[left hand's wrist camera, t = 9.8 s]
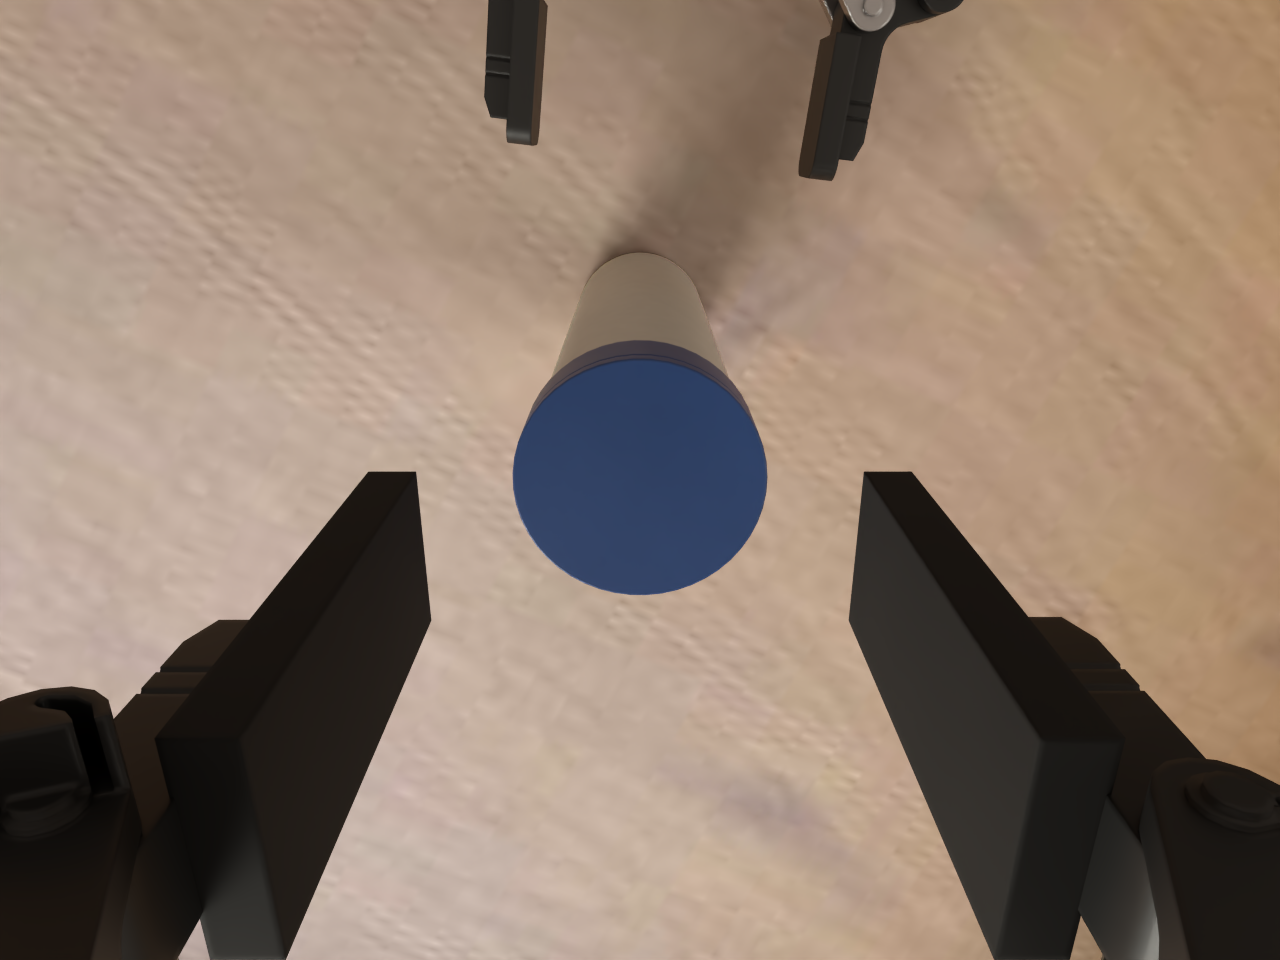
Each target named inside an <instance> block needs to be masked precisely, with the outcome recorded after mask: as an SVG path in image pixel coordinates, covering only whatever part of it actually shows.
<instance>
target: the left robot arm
mask: <svg viewBox="0 0 1280 960" xmlns="http://www.w3.org/2000/svg"><path fill="white" fill-rule="evenodd" d="M430 622H431V613H430V604H429V594H428V584H427V574H426V564H425V555H424V545H423V535H422V525H421V516H420V506H419V496H418V486H417V477H416V472H368V473H367V474H366V475H365V477H364V478H363V479H362V480H361V482H360V483H359V484H358V485H357V487H356V488H355V489H354V490H353V492H352V493H351V494H350V495H349V497H348V498H347V499H346V500H345V501H344V503H343V504H342V505H341V506H340V508H339V509H338V510H337V511H336V513H335V514H334V515H333V516H332V518H331V519H330V520H329V521H328V523H327V524H326V525H325V526H324V528H323V529H322V530H321V531H320V533H319V534H318V535H317V536H316V538H315V539H314V540H313V541H312V543H311V544H310V545H309V546H308V548H307V549H306V550H305V551H304V553H303V554H302V555H301V556H300V557H299V559H298V560H297V561H296V562H295V564H294V565H293V566H292V567H291V569H290V570H289V571H288V572H287V574H286V575H285V576H284V577H283V579H282V580H281V581H280V582H279V584H278V585H277V586H276V587H275V589H274V590H273V591H272V592H271V594H270V595H269V596H268V597H267V599H266V600H265V601H264V602H263V604H262V605H261V606H260V607H259V609H258V610H257V611H256V612H255V613H254V615H253V616H252V617H251V618H250V620H218V621H216V622H215V623H213V624H212V625H210V626H208V627H207V628H205V629H203V630H202V631H200V632H198V633H197V634H195V635H194V636H192V637H190V638H189V639H187V640H185V641H184V642H183V643H182V644H181V645H180V646H179V647H178V648H177V649H176V650H175V652H174V653H173V654H172V655H171V656H170V657H169V658H168V659H167V660H166V662H165V663H164V664H163V665H162V666H161V667H160V668H161V670H160V672H156V673H155V674H154V675H153V676H152V677H151V678H150V679H149V680H148V682H147V683H146V684H145V685H144V686H143V687H142V688H141V694H136V695H135V696H134V697H133V698H132V699H131V700H130V702H129V703H128V704H127V705H126V706H125V707H124V708H123V709H122V711H121V712H120V713H119V714H118V715H117V716H116V717H115V718H114V719H113V715H112V712H111V708H110V704H109V701H108V699H106V698H105V697H104V696H102V695H101V694H99V693H98V692H97V691H95V690H91V689H84V688H78V687H72V686H71V687H60V688H49V689H40V690H37V691H33V692H29V693H25V694H21V695H18V696H14V697H10V698H7V699H5V700H2V701H0V960H179V958H178V956H179V955H180V953H181V951H182V949H183V948H184V946H185V944H186V942H187V940H188V939H189V937H190V935H191V933H192V932H193V930H194V928H195V926H196V924H197V923H198V921H199V919H200V921H201V925H202V929H203V933H204V937H205V941H206V945H207V949H208V953H209V957H210V960H286V958H287V956H288V953H289V951H290V949H291V946H292V944H293V942H294V939H295V937H296V935H297V932H298V930H299V928H300V925H301V923H302V921H303V918H304V916H305V914H306V911H307V909H308V907H309V904H310V902H311V900H312V897H313V895H314V893H315V890H316V888H317V886H318V883H319V881H320V879H321V876H322V874H323V872H324V869H325V867H326V865H327V862H328V860H329V858H330V855H331V853H332V851H333V848H334V846H335V844H336V841H337V839H338V837H339V834H340V832H341V830H342V827H343V825H344V823H345V820H346V818H347V816H348V813H349V811H350V809H351V806H352V804H353V802H354V799H355V797H356V795H357V792H358V790H359V788H360V785H361V783H362V781H363V778H364V776H365V774H366V771H367V769H368V767H369V764H370V762H371V760H372V757H373V755H374V753H375V750H376V748H377V746H378V743H379V741H380V739H381V736H382V734H383V732H384V729H385V727H386V725H387V722H388V720H389V718H390V715H391V713H392V711H393V708H394V706H395V704H396V701H397V699H398V697H399V694H400V692H401V690H402V687H403V685H404V683H405V680H406V678H407V676H408V673H409V671H410V669H411V666H412V664H413V662H414V660H415V657H416V655H417V653H418V650H419V648H420V646H421V643H422V641H423V639H424V636H425V634H426V632H427V629H428V627H429V625H430ZM849 622H850V625H851V627H852V629H853V632H854V634H855V636H856V639H857V641H858V643H859V646H860V648H861V650H862V653H863V655H864V657H865V660H866V662H867V664H868V667H869V669H870V671H871V673H872V676H873V678H874V680H875V683H876V685H877V687H878V690H879V692H880V694H881V697H882V699H883V701H884V704H885V706H886V708H887V711H888V713H889V715H890V718H891V720H892V722H893V725H894V727H895V729H896V732H897V734H898V736H899V739H900V741H901V743H902V746H903V748H904V750H905V753H906V755H907V757H908V760H909V762H910V764H911V767H912V769H913V771H914V774H915V776H916V778H917V781H918V783H919V785H920V788H921V790H922V792H923V795H924V797H925V799H926V802H927V804H928V806H929V809H930V811H931V813H932V816H933V818H934V820H935V823H936V825H937V827H938V830H939V832H940V834H941V837H942V839H943V841H944V844H945V846H946V848H947V851H948V853H949V855H950V858H951V860H952V862H953V865H954V867H955V869H956V872H957V874H958V876H959V879H960V881H961V883H962V886H963V888H964V890H965V893H966V895H967V897H968V900H969V902H970V904H971V907H972V909H973V911H974V914H975V916H976V918H977V921H978V923H979V925H980V928H981V930H982V932H983V935H984V937H985V939H986V942H987V944H988V946H989V949H990V951H991V953H992V956H993V958H994V960H1070V957H1071V953H1072V949H1073V945H1074V941H1075V937H1076V933H1077V929H1078V925H1079V921H1080V917H1081V916H1082V918H1083V920H1084V922H1085V923H1086V925H1087V927H1088V929H1089V931H1090V932H1091V934H1092V936H1093V938H1094V939H1095V941H1096V943H1097V945H1098V946H1099V948H1100V950H1101V952H1102V954H1103V955H1102V958H1101V960H1280V785H1278V784H1276V783H1274V782H1272V781H1270V780H1268V779H1266V778H1264V777H1262V776H1260V775H1258V774H1256V773H1254V772H1252V771H1250V770H1248V769H1245V768H1241V767H1238V766H1235V765H1231V764H1228V763H1225V762H1221V761H1218V760H1211V759H1206V758H1205V757H1204V756H1203V755H1202V754H1201V753H1200V752H1199V751H1198V749H1197V748H1196V747H1195V746H1194V745H1193V744H1192V743H1191V742H1190V741H1189V740H1188V738H1187V737H1186V736H1185V735H1184V734H1183V733H1182V732H1181V731H1180V730H1179V728H1178V727H1177V726H1176V725H1175V724H1174V723H1173V722H1172V721H1171V720H1170V719H1169V717H1168V716H1167V715H1166V714H1165V713H1164V712H1163V711H1162V710H1161V709H1160V708H1159V706H1158V705H1157V704H1156V703H1155V702H1154V701H1153V700H1152V699H1151V698H1150V696H1149V695H1148V694H1147V693H1146V692H1145V691H1140V689H1139V684H1138V683H1137V682H1136V681H1135V680H1134V679H1133V678H1132V677H1131V675H1130V674H1129V673H1128V672H1127V671H1126V670H1125V669H1121V668H1120V663H1119V662H1118V661H1117V660H1116V659H1115V658H1114V657H1113V656H1112V655H1111V653H1110V652H1109V651H1108V650H1107V649H1106V648H1105V647H1104V646H1103V645H1102V643H1101V642H1100V641H1099V640H1098V639H1097V638H1095V637H1093V636H1092V635H1090V634H1089V633H1087V632H1085V631H1084V630H1082V629H1080V628H1079V627H1077V626H1075V625H1074V624H1072V623H1070V622H1069V621H1067V620H1065V619H1064V618H1062V617H1028V616H1027V615H1026V613H1025V612H1024V611H1023V610H1022V609H1021V607H1020V606H1019V605H1018V604H1017V602H1016V601H1015V600H1014V599H1013V597H1012V596H1011V595H1010V594H1009V592H1008V591H1007V590H1006V589H1005V587H1004V586H1003V585H1002V584H1001V582H1000V581H999V580H998V579H997V577H996V576H995V575H994V574H993V572H992V571H991V570H990V569H989V567H988V566H987V565H986V564H985V562H984V561H983V560H982V559H981V557H980V556H979V555H978V554H977V553H976V551H975V550H974V549H973V548H972V546H971V545H970V544H969V543H968V541H967V540H966V539H965V538H964V536H963V535H962V534H961V533H960V531H959V530H958V529H957V528H956V526H955V525H954V524H953V523H952V521H951V520H950V519H949V518H948V516H947V515H946V514H945V513H944V511H943V510H942V509H941V508H940V506H939V505H938V504H937V503H936V501H935V500H934V499H933V498H932V497H931V495H930V494H929V493H928V492H927V490H926V489H925V488H924V487H923V485H922V484H921V483H920V482H919V480H918V479H917V478H916V477H915V475H914V474H913V473H912V472H864V477H863V486H862V496H861V506H860V516H859V525H858V535H857V545H856V555H855V564H854V574H853V584H852V594H851V603H850V613H849Z"/></svg>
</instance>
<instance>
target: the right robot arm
mask: <svg viewBox="0 0 1280 960" xmlns="http://www.w3.org/2000/svg"><path fill="white" fill-rule="evenodd" d="M819 1H820V3H821V6H822V8H823V10H824V12H825V14H826V17H827V19H828V21H829V23H830V25H831V32H830V35H829V36H827V37H825V38H823V39H821V40H820V44H819V50H818V55H817V61H816V67H815V73H814V79H813V84H812V90H811V96H810V102H809V108H808V113H807V119H806V125H805V131H804V137H803V142H802V148H801V154H800V160H799V176H801V177H805V178H811V179H819V180H827V181H832V180H833V178H834V176H835V173H836V170H837V166H838V161H839V159H841V160H849V161H853V160H854V158H855V157H856V155H857V153H858V152H859V150H860V148H861V147H862V145H863V143H864V139H865V134H866V129H867V124H868V119H869V113H870V108H871V103H872V98H873V93H874V88H875V83H876V78H877V73H878V68H879V63H880V58H881V53H882V49H883V45H884V43H885V41H886V39H887V38H888V36H889V35H890V34H891V33H892V32H893V31H894V30H895V29H896V28H898V27H902V26H905V25H909V24H913V23H919V22H923V21H925V20H928V19H930V18H933V17H936V16H938V15H941V14H943V13H946V12H949V11H951V10H953V9H955V8H956V7H958V6H959V5H960V4H961V3H962V1H963V0H819ZM547 8H548V6H547V4H546V3H545V1H544V0H489V4H488V26H487V48H486V71H485V72H486V75H485V93H484V97H485V101H486V104H487V107H488V110H489V113H490V117H492V118H500V119H507V126H506V135H507V142H508V143H515V144H523V145H531V146H533V145H537V143H538V137H539V127H540V112H541V97H542V82H543V68H544V53H545V38H546V23H547Z"/></svg>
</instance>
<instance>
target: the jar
mask: <svg viewBox="0 0 1280 960" xmlns="http://www.w3.org/2000/svg"><path fill="white" fill-rule="evenodd" d="M631 340H651V341H658V342H664V343H669V344H672V345H676V346H679V347H682V348H685V349H687V350H689V351H692V352H694V353H696V354H698V355H700V356H701V357H703V358H705V359H706V360H708V361H710V362H711V363H712V364H713V365H715V366H716V367H717V368H718V369H720V370H721V371H722V372H723V373H724V374H725V375H726V376H727V377H728V374H727V372H726V369H725V366H724V363H723V361H722V358H721V355H720V352H719V350H718V347H717V344H716V341H715V339H714V336H713V333H712V330H711V328H710V325H709V322H708V319H707V317H706V314H705V311H704V308H703V306H702V303H701V300H700V297H699V295H698V292H697V289H696V287H695V285H694V284H693V282H692V280H691V279H690V277H689V276H688V275H687V274H686V273H685V272H684V270H683V269H681V268H680V267H679V266H678V265H677V264H675V263H674V262H672V261H670V260H669V259H666V258H664V257H662V256H659V255H655V254H651V253H629V254H625V255H621V256H618V257H616V258H613V259H612V260H610V261H608V262H606V263H605V264H604V265H602V266H601V267H600V268H599V269H598V270H597V271H596V272H595V273H594V274H593V275H592V276H591V277H590V279H589V280H588V282H587V284H586V285H585V287H584V290H583V292H582V295H581V297H580V300H579V303H578V305H577V308H576V311H575V314H574V316H573V319H572V322H571V325H570V327H569V330H568V333H567V336H566V338H565V341H564V344H563V347H562V349H561V352H560V355H559V358H558V360H557V363H556V366H555V369H554V371H553V374H552V377H553V376H554V375H555V374H556V373H557V372H558V371H559V370H560V369H561V368H563V367H564V366H565V365H567V364H568V363H569V362H571V361H572V360H573V359H575V358H577V357H579V356H581V355H582V354H584V353H586V352H588V351H590V350H593V349H596V348H598V347H601V346H604V345H608V344H612V343H616V342H622V341H631ZM552 377H551V378H552ZM728 378H729V377H728Z"/></svg>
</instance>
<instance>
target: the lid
mask: <svg viewBox="0 0 1280 960" xmlns="http://www.w3.org/2000/svg"><path fill="white" fill-rule="evenodd" d="M766 489H767V464H766V458H765V453H764V448H763V445H762V442H761V439H760V436H759V434H758V431H757V428H756V426H755V423H754V421H753V418H752V416H751V413H750V411H749V408H748V406H747V404H746V402H745V400H744V399H743V397H742V395H741V393H740V392H739V391H738V389H737V388H736V386H735V385H734V384H733V382H732V381H731V380H730V379H729V378H728V377H727V376H726V375H725V374H724V373H723V372H722V371H721V370H720V369H718V368H717V367H716V366H715V365H713V364H712V363H711V362H710V361H708V360H706V359H705V358H703V357H701V356H700V355H698V354H696V353H694V352H692V351H689V350H687V349H685V348H682V347H679V346H676V345H672V344H669V343H664V342H658V341H651V340H631V341H622V342H616V343H612V344H608V345H604V346H601V347H598V348H596V349H593V350H590V351H588V352H586V353H584V354H582V355H581V356H579V357H577V358H575V359H573V360H572V361H571V362H569V363H568V364H567V365H565V366H564V367H563V368H561V369H560V370H559V371H558V372H557V373H556V374H555V375H554V376H553V377H552V378H551V379H550V380H549V381H548V383H547V384H546V385H545V387H544V388H543V389H542V390H541V392H540V394H539V395H538V397H537V399H536V400H535V402H534V404H533V406H532V409H531V411H530V414H529V416H528V419H527V421H526V424H525V426H524V429H523V431H522V434H521V436H520V439H519V441H518V445H517V449H516V453H515V457H514V465H513V490H514V495H515V501H516V505H517V508H518V511H519V514H520V517H521V520H522V522H523V524H524V526H525V528H526V530H527V532H528V534H529V535H530V537H531V538H532V540H533V541H534V543H535V544H536V545H537V547H538V548H539V549H540V550H541V551H542V552H543V553H544V555H545V556H546V557H547V558H548V559H549V560H551V561H552V562H553V563H554V564H555V565H556V566H557V567H558V568H560V569H561V570H563V571H564V572H566V573H567V574H569V575H570V576H572V577H574V578H576V579H577V580H579V581H581V582H583V583H585V584H588V585H590V586H593V587H596V588H598V589H602V590H606V591H610V592H614V593H621V594H628V595H650V594H660V593H666V592H670V591H675V590H678V589H681V588H684V587H687V586H690V585H692V584H695V583H697V582H699V581H701V580H703V579H705V578H707V577H708V576H710V575H711V574H713V573H714V572H716V571H717V570H719V569H720V568H721V567H723V566H724V565H725V564H726V563H727V562H729V561H730V560H731V559H732V558H733V557H734V556H735V555H736V553H737V552H738V551H739V550H740V549H741V548H742V547H743V545H744V544H745V542H746V541H747V540H748V538H749V537H750V535H751V534H752V532H753V530H754V528H755V526H756V524H757V522H758V520H759V517H760V514H761V511H762V509H763V505H764V500H765V496H766Z"/></svg>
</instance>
